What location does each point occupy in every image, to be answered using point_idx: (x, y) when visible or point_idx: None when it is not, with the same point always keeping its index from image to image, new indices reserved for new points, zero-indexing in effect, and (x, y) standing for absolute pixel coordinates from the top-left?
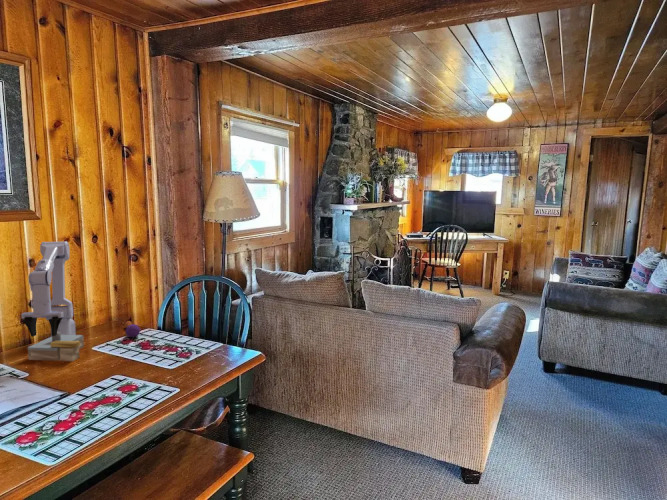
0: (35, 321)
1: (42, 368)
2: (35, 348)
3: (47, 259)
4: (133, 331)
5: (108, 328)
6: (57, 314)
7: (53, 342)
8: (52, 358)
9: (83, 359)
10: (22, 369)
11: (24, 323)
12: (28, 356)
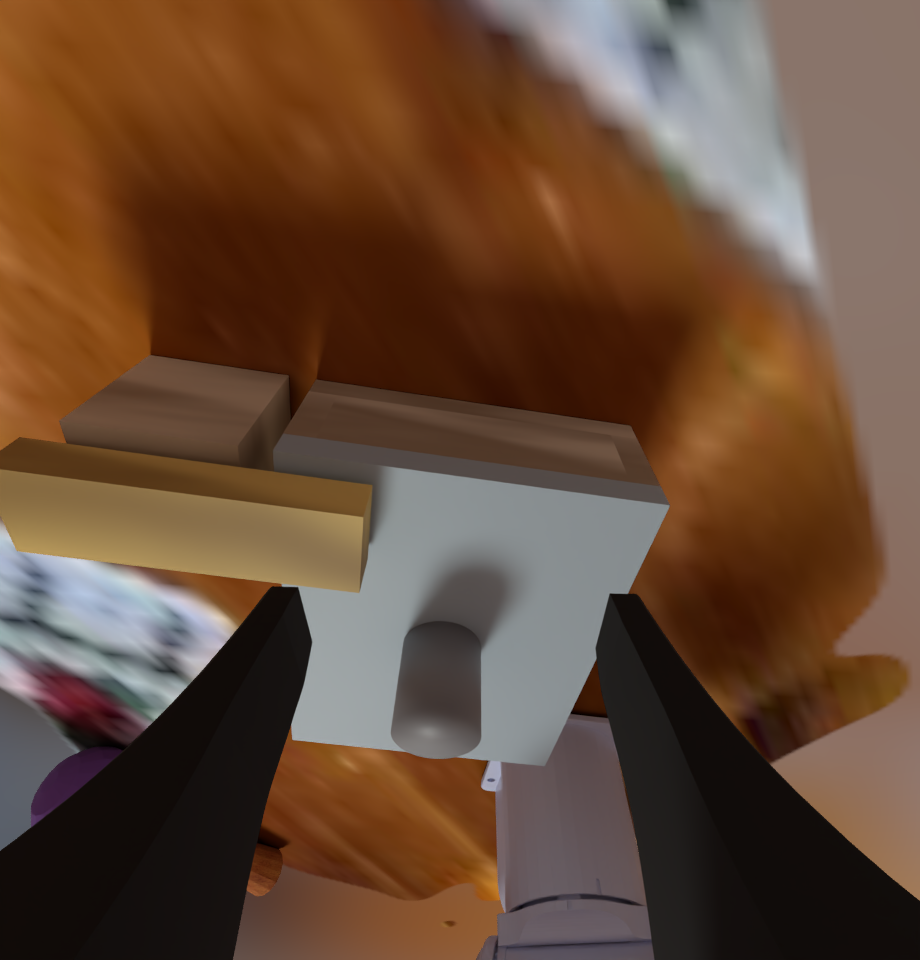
0: (662, 937)
1: (332, 137)
2: (566, 485)
3: None
4: (46, 787)
5: (372, 846)
6: None
7: (335, 534)
8: (371, 398)
9: (82, 394)
10: (569, 117)
11: (892, 882)
12: (637, 443)
